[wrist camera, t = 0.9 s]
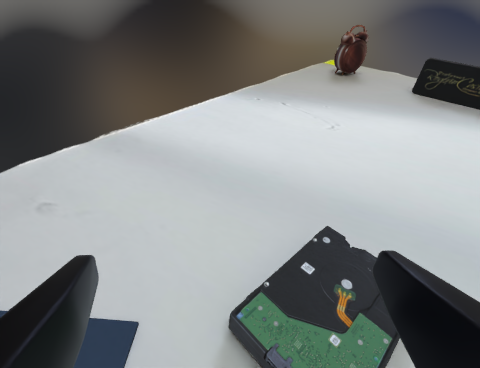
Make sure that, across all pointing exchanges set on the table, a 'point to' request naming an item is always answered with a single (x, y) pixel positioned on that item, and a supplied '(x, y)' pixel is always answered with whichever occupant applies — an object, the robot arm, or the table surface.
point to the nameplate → (449, 82)
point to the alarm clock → (351, 51)
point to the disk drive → (318, 311)
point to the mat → (105, 343)
